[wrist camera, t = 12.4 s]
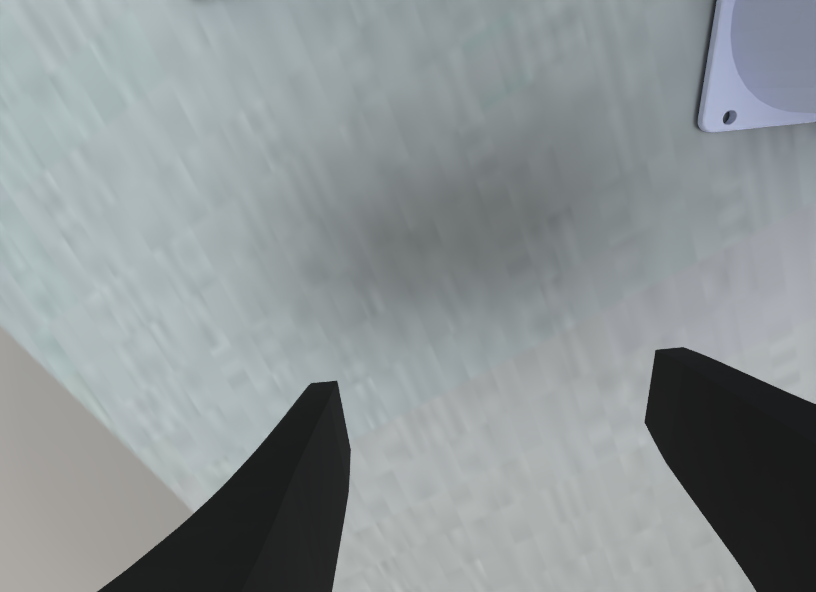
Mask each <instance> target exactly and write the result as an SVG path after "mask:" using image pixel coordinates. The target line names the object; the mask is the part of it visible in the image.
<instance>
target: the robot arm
mask: <svg viewBox="0 0 816 592" xmlns="http://www.w3.org/2000/svg"><path fill="white" fill-rule="evenodd" d="M727 111H729V112H730V117H729V119H728V121H727V122H726V123H724V122H723V116H724V114H725V113H726V112H727ZM810 122H816V0H717V2H716V9H715V15H714V21H713V28H712V34H711V40H710V46H709V53H708V59H707V65H706V71H705V78H704V84H703V90H702V97H701V103H700V109H699V115H698V126H699V128H700V129H701V130H703V131H705V132H723V131H733V130H742V129H752V128H762V127H771V126H781V125H791V124H800V123H810ZM645 424H646V426H647V428H648V430H649V432H650V434H651V436H652V438H653V440H654V442H655V444H656V445H657V447H658V449H659V451H660V453H661V454H662V456H663V458H664V460H665V461H666V463H667V465H668V466H669V467H670V469H671V470H672V472H673V473H674V475H675V476H676V477H677V479H678V480H679V482H680V483H681V485H682V486H683V487H684V489H685V490H686V492H687V493H688V494H689V496H690V497H691V499H692V500H693V501H694V503H695V504H696V505H697V507H698V508H699V510H700V511H701V512H702V514H703V515H704V516H705V518H706V519H707V521H708V522H709V523H710V525H711V526H712V528H713V529H714V530H715V532H716V533H717V534H718V536H719V537H720V539H721V540H722V541H723V543H724V544H725V546H726V547H727V548H728V550H729V551H730V552H731V554H732V555H733V557H734V558H735V559H736V561H737V562H738V564H739V565H740V567H741V568H742V570H743V571H744V573H745V574H746V576H747V577H748V579H749V580H750V582H751V583H752V585H753V587H754V588H755V590H756V592H816V404H814V403H811V402H809V401H806V400H804V399H802V398H799V397H797V396H795V395H793V394H790V393H788V392H786V391H783V390H781V389H779V388H777V387H774V386H772V385H770V384H768V383H766V382H763V381H761V380H759V379H757V378H754V377H752V376H750V375H748V374H746V373H743V372H741V371H739V370H737V369H734V368H732V367H730V366H728V365H726V364H723V363H721V362H719V361H716V360H714V359H712V358H710V357H707V356H705V355H702V354H700V353H697V352H695V351H692V350H689V349H687V348H684V347H680V348H670V349H660V350H656V351H655V358H654V364H653V371H652V377H651V384H650V390H649V397H648V403H647V410H646V416H645ZM350 454H351V449H350V444H349V439H348V434H347V429H346V423H345V418H344V413H343V408H342V403H341V398H340V393H339V387H338V382H337V381H330V382H319V383H311V384H310V385H309V386H308V387H307V388H306V389H305V391H304V392H303V393H302V394H301V396H300V397H299V398H298V399H297V401H296V402H295V403H294V405H293V406H292V407H291V408H290V410H289V411H288V412H287V413H286V415H285V416H284V417H283V418H282V420H281V421H280V422H279V423H278V425H277V426H276V427H275V428H274V429H273V431H272V432H271V433H270V434H269V435H268V437H267V438H266V439H265V440H264V441H263V443H262V444H261V445H260V446H259V447H258V449H257V450H256V451H255V452H254V453H253V454H252V455H251V456H250V458H249V459H248V460H247V461H246V462H245V463H244V464H243V465H242V466H241V467H240V468H239V469H238V471H237V472H236V473H235V474H234V475H233V476H232V477H231V478H230V479H229V480H228V481H227V482H226V483H225V484H224V485H223V486H222V487H221V488H220V489H219V490H218V491H217V492H216V493H215V494H214V495H213V496H212V497H211V498H210V499H209V500H208V501H207V502H206V503H205V504H204V505H203V506H202V507H200V508H199V509H198V510H197V511H196V512H195V513H194V514H193V515H192V516H191V517H190V518H189V519H187V520H186V521H185V522H184V523H183V524H182V525H181V526H180V527H178V528H177V529H176V530H175V531H174V532H172V533H171V534H170V535H169V536H167V537H166V538H165V539H164V540H163V541H161V542H160V543H159V544H158V545H157V546H155V547H154V548H153V549H152V550H150V551H149V552H148V553H147V554H145V555H144V556H143V557H142V558H141V559H139V560H138V561H137V562H136V563H135V564H133V565H132V566H131V567H130V568H128V569H127V570H126V571H124V572H123V573H122V574H121V575H119V576H118V577H116V578H115V579H114V580H112V581H111V582H110V583H108V584H107V585H106V586H104V587H103V588H102V589H100V590H99V591H98V592H332V588H333V582H334V576H335V570H336V564H337V558H338V553H339V547H340V541H341V535H342V529H343V523H344V517H345V511H346V505H347V499H348V493H349V476H350Z"/></svg>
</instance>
